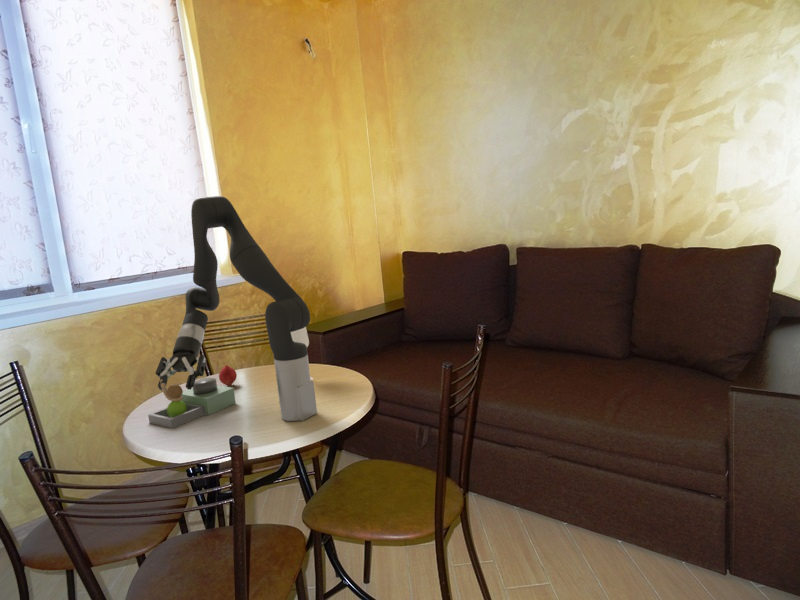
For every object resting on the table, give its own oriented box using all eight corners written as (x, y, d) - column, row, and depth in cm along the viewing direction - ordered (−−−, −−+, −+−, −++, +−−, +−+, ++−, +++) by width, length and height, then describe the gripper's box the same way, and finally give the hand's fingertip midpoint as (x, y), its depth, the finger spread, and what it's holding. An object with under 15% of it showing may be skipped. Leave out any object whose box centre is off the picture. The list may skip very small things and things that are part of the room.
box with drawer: (235, 403, 161) (232, 378, 159) (175, 429, 143) (171, 401, 142) (206, 398, 168) (203, 374, 167) (146, 422, 151) (142, 395, 150)
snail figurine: (170, 415, 155) (164, 377, 153) (191, 414, 154) (185, 375, 152) (161, 422, 149) (155, 382, 148) (182, 421, 149) (176, 381, 147)
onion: (216, 388, 178) (213, 365, 177) (229, 382, 183) (226, 361, 182) (229, 389, 175) (225, 366, 174) (241, 384, 180) (238, 362, 179)
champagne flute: (298, 377, 183) (290, 310, 179) (316, 376, 182) (308, 310, 178) (290, 383, 176) (282, 314, 173) (309, 382, 175) (301, 313, 171)
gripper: (161, 336, 158) (145, 384, 149) (205, 333, 156) (191, 382, 147) (174, 348, 164) (158, 395, 155) (216, 346, 162) (203, 393, 153)
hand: (174, 389), depth 151 cm, fingers open, 8 cm apart
